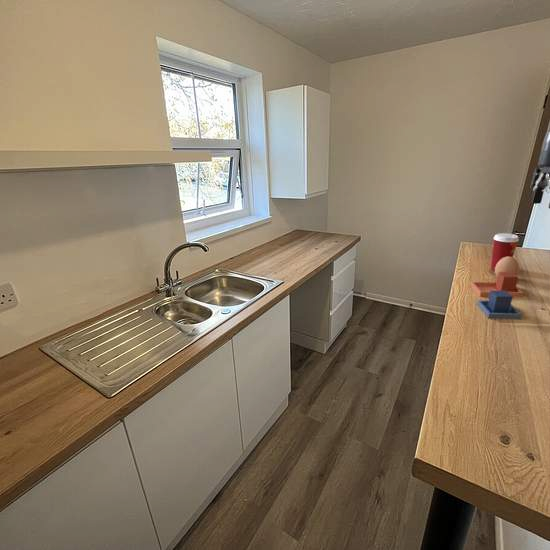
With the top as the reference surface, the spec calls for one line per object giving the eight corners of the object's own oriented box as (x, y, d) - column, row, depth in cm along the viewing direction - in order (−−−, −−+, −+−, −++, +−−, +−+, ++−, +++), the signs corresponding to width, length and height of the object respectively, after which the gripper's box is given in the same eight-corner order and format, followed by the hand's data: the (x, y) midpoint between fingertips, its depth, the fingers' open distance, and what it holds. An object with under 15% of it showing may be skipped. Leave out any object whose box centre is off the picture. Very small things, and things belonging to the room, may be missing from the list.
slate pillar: (501, 308, 91) (505, 290, 89) (508, 315, 87) (512, 296, 85) (486, 307, 92) (490, 290, 90) (492, 314, 88) (496, 296, 86)
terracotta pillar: (508, 288, 102) (512, 272, 100) (514, 293, 98) (518, 277, 96) (494, 288, 103) (498, 272, 100) (500, 293, 99) (504, 277, 97)
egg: (488, 278, 111) (493, 255, 108) (503, 275, 112) (508, 252, 109) (505, 285, 105) (511, 261, 101) (521, 281, 106) (527, 258, 103)
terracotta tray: (509, 286, 104) (510, 281, 103) (522, 297, 96) (523, 292, 95) (470, 286, 106) (471, 281, 106) (479, 297, 99) (480, 292, 98)
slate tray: (506, 306, 93) (507, 300, 92) (520, 320, 85) (522, 314, 84) (476, 305, 94) (477, 300, 94) (487, 319, 87) (489, 313, 86)
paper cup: (514, 275, 112) (523, 238, 106) (489, 273, 114) (497, 238, 109) (507, 267, 118) (515, 232, 113) (484, 266, 121) (491, 232, 116)
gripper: (594, 146, 77) (575, 210, 83) (558, 146, 90) (544, 201, 96) (559, 149, 78) (543, 211, 85) (529, 148, 91) (517, 202, 97)
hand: (544, 205), depth 90 cm, fingers open, 8 cm apart
